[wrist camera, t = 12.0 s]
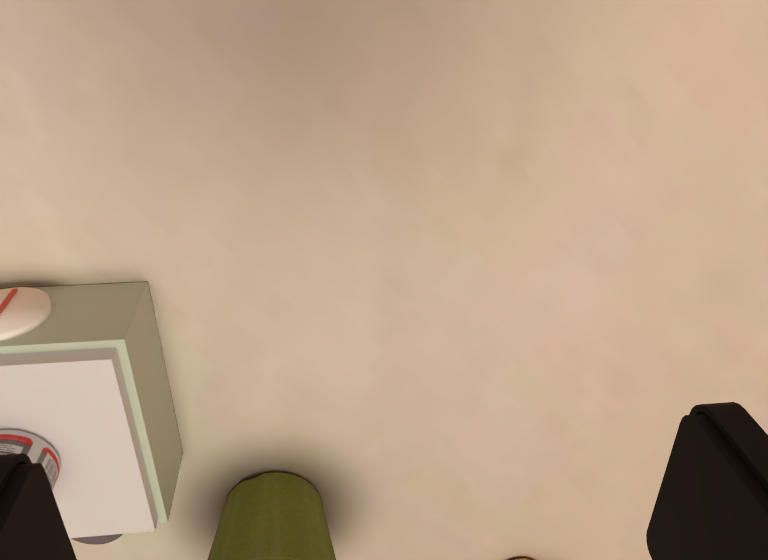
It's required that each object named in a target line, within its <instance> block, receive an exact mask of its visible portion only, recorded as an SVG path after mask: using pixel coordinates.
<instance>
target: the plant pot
mask: <svg viewBox="0 0 768 560" xmlns="http://www.w3.org/2000/svg"><path fill="white" fill-rule="evenodd" d="M208 560H336V558H335V554H334V550H333V546H332V542H331V538H330V534H329V530H328V526H327V522H326V518H325V514H324V509H323V505H322V501H321V498H320V496H319V494H318V493H317V491H316V490H315V488H314V487H313V485H312V484H311V483H309V482H308V481H306V480H305V479H303V478H301V477H298V476H296V475H292V474H287V473H276V472H274V473H264V474H261V475H260V476H258V477H256V478H253V479H250V480H245V481H242V482H241V483H239V484H238V485H237V486H236V487H235V488H234V489H233V490H232V491H231V492H230V494H229V495H228V497H227V499H226V502H225V505H224V509H223V512H222V515H221V518H220V522H219V525H218V528H217V532H216V535H215V538H214V541H213V544H212V547H211V550H210V554H209V557H208Z"/></svg>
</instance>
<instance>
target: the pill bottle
mask: <svg viewBox="0 0 768 560" xmlns="http://www.w3.org/2000/svg"><path fill="white" fill-rule="evenodd" d="M7 454H26V455H27V456H29V458H30V460H31V462H32V463H40V464H42V465H43V467H44V469H45V472H46V475H47V478H48V480H49V483H50V486H51V489H52V491H53V488H54V486H55V483H56V481H57V479H58V476H59V473H60V460H59V457H58V455H57V453H56V451H55V450H54V449H53V448H52V447H51V446H50V445H49V444H48V443H47V442H45V441H44V440H43V439H41V438H39V437H37V436H35V435H33V434H30V433H27V432H23V431H18V430H0V455H7Z"/></svg>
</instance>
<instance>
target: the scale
mask: <svg viewBox="0 0 768 560" xmlns="http://www.w3.org/2000/svg"><path fill="white" fill-rule="evenodd" d="M0 430H18V431H23V432H27V433H30V434H33V435H35V436H37V437H39V438H41V439H43V440H44V441H45V442H47V443H48V444H49V445H50V446H51V447H52V448H53V449H54V450H55V451H56V453H57V455H58V457H59V460H60V473H59V476H58V479H57V481H56V483H55V486H54V488H53V491H52V492H53V495H54V497H55V500H56V503H57V506H58V509H59V511H60V514H61V517H62V520H63V523H64V525H65V528H66V531H67V534H68V537H69V538H78V537H90V536H102V535H114V534H126V533H138V532H149V531H155V530H156V525H157V523H168V519H169V515H170V510H171V506H172V501H173V496H174V492H175V487H176V483H177V478H178V473H179V469H180V464H181V459H182V455H183V451H182V446H181V441H180V436H179V431H178V427H177V422H176V417H175V412H174V407H173V402H172V397H171V392H170V387H169V383H168V378H167V373H166V368H165V363H164V358H163V353H162V348H161V343H160V339H159V334H158V329H157V324H156V319H155V314H154V309H153V304H152V299H151V295H150V290H149V285H148V282H131V283H111V284H91V285H70V286H50V287H15V288H7V289H0Z"/></svg>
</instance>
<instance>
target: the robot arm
mask: <svg viewBox="0 0 768 560" xmlns="http://www.w3.org/2000/svg"><path fill="white" fill-rule="evenodd" d="M646 536H647V546H648V550H649V553H650V555H651V558H652V560H768V435H767V434H766V433H765V432H764V430H763V429H762V428H761V427H760V426H759V425H758V424H757V422H756V421H755V420H754V419H753V418H752V417H751V416H750V414H749V413H748V412H747V411H746V410H745V409H744V408H743V407H742V406H741V405H740V404H737V403H735V402H729V403H715V404H701V405H696V406H695V407H693V408H692V410H691V412H690V414H689V415H685V416H684V417H683V418H682V420H681V422H680V425H679V428H678V432H677V435H676V438H675V441H674V445H673V448H672V451H671V455H670V458H669V461H668V464H667V468H666V471H665V474H664V477H663V481H662V484H661V487H660V490H659V494H658V497H657V500H656V504H655V507H654V510H653V513H652V517H651V520H650V523H649V526H648V530H647V535H646ZM0 560H77V559H76V556H75V554H74V551H73V548H72V545H71V542H70V540H69V537H68V534H67V531H66V528H65V525H64V523H63V520H62V517H61V514H60V511H59V509H58V506H57V503H56V500H55V497H54V495H53V492H52V489H51V486H50V483H49V480H48V478H47V475H46V472H45V469H44V467H43V465H42V464H40V463H32V462H31V460H30V458H29V456H27V455H26V454H7V455H0Z"/></svg>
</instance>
